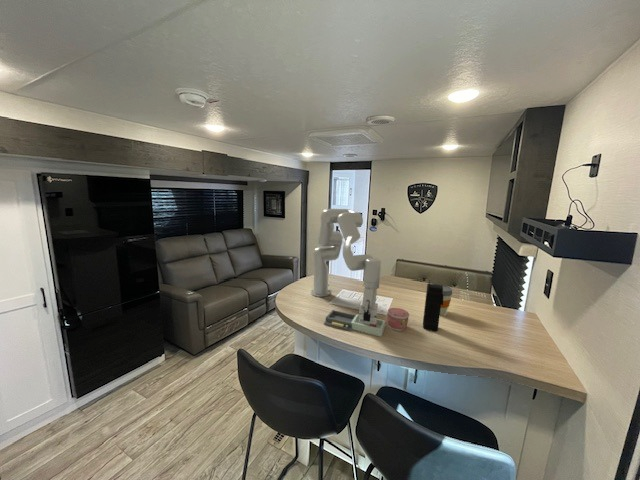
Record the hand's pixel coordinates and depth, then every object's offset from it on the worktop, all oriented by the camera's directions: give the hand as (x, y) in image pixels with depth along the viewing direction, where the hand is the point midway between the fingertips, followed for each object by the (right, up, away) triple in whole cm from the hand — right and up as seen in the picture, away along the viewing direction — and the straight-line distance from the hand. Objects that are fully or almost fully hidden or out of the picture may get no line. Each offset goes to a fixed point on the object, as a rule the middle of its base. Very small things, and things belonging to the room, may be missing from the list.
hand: (368, 316), depth 126 cm
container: (+15, -7, +3) cm, 17 cm away
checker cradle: (-13, -5, +7) cm, 15 cm away
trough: (0, -6, +1) cm, 6 cm away
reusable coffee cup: (+44, -4, +22) cm, 50 cm away
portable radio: (+32, -7, +3) cm, 33 cm away
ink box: (0, -5, +1) cm, 5 cm away
